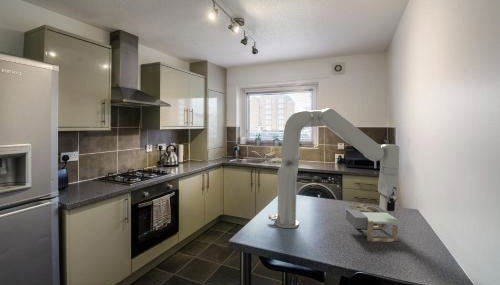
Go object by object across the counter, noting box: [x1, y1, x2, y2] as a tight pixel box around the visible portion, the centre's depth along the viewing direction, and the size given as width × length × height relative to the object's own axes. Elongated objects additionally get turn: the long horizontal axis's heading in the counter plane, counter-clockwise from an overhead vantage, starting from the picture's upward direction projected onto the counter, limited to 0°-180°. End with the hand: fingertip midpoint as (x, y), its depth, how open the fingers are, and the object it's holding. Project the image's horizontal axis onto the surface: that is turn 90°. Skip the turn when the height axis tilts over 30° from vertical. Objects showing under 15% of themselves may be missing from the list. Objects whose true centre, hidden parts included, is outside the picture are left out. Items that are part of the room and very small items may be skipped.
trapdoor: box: [345, 208, 402, 229], centre depth 119 cm, size 20×12×5 cm, turn 89°
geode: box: [346, 203, 381, 213], centre depth 141 cm, size 17×9×15 cm
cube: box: [379, 194, 397, 212], centre depth 119 cm, size 5×5×6 cm
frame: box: [355, 210, 399, 243], centre depth 119 cm, size 13×15×9 cm
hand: (387, 208), depth 119 cm, fingers closed on cube, 5 cm apart
